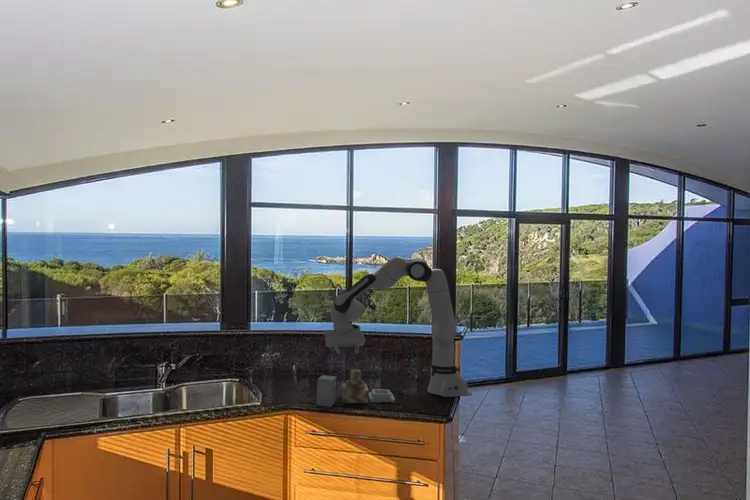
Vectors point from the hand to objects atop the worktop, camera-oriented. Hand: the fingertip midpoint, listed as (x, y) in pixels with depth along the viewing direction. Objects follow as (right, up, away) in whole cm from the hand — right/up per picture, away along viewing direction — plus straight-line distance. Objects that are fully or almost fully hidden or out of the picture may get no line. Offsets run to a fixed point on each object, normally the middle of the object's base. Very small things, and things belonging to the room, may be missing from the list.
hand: (348, 352), depth 301 cm
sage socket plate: (+16, -21, -8) cm, 28 cm away
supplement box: (-10, -21, -20) cm, 30 cm away
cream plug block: (+4, -15, -10) cm, 18 cm away
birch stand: (+3, -21, -10) cm, 23 cm away
